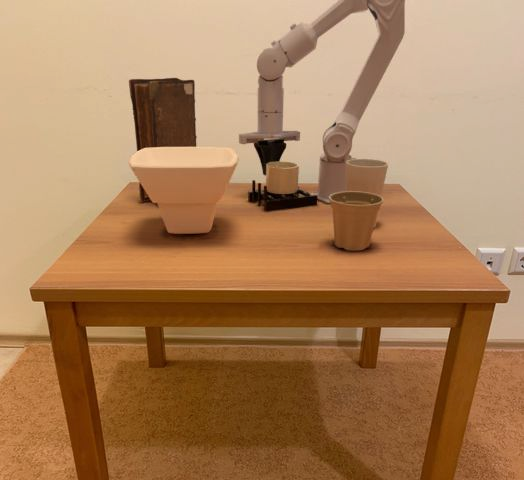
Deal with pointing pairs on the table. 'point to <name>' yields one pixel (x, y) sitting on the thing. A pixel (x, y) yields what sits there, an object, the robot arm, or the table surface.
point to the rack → (280, 199)
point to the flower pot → (354, 218)
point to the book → (163, 114)
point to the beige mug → (282, 177)
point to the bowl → (185, 183)
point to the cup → (366, 176)
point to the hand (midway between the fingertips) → (269, 174)
